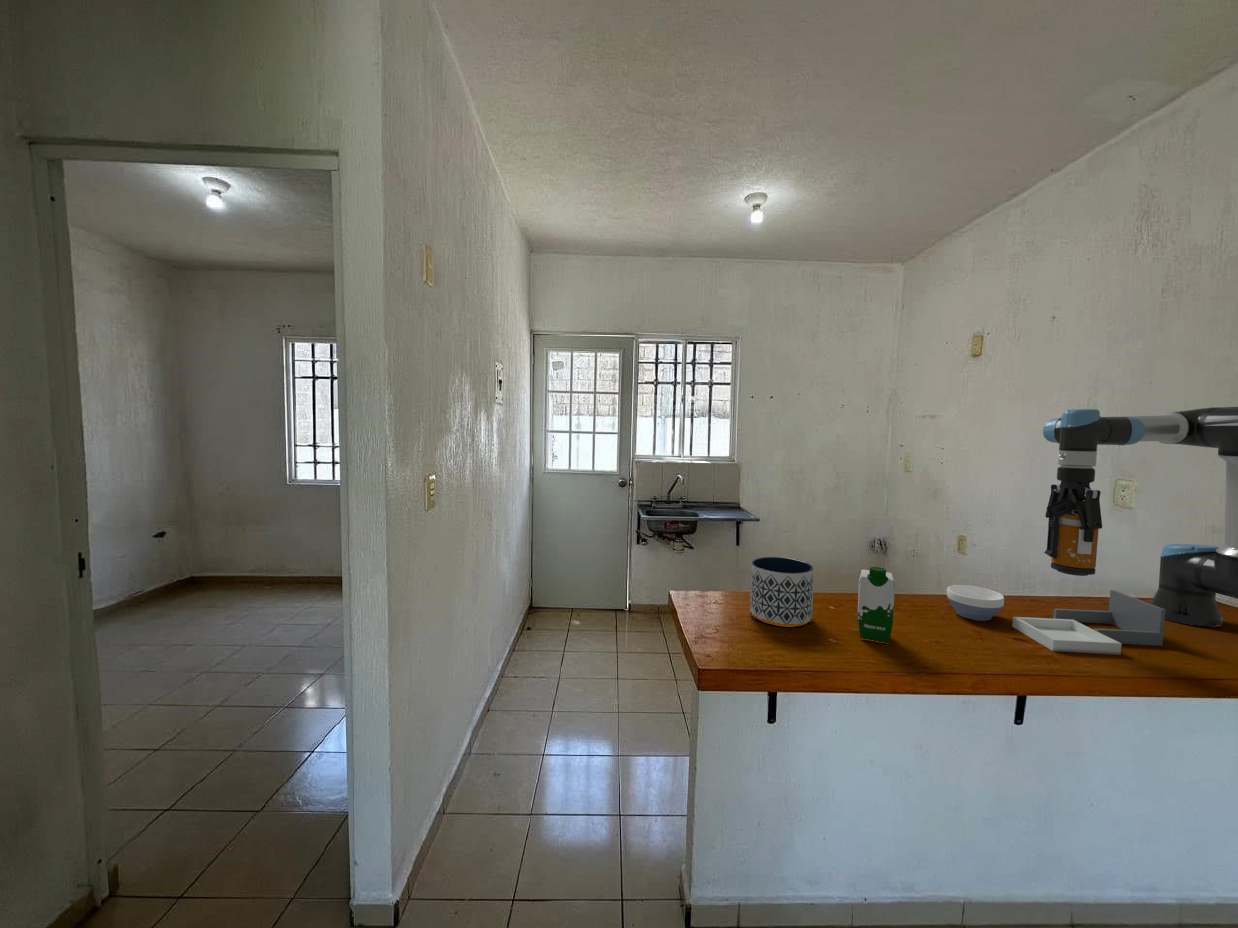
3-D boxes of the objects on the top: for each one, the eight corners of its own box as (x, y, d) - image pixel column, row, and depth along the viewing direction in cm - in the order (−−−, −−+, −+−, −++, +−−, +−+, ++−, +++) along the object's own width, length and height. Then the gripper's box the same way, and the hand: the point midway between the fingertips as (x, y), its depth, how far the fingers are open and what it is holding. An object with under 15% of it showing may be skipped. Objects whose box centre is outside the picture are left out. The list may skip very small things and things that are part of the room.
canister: (1103, 578, 130) (1109, 502, 129) (1055, 575, 132) (1060, 501, 131) (1079, 568, 139) (1085, 498, 138) (1034, 566, 141) (1039, 496, 140)
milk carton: (856, 640, 136) (859, 569, 134) (856, 628, 144) (859, 561, 142) (893, 646, 132) (896, 573, 130) (890, 634, 140) (894, 564, 139)
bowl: (951, 620, 150) (953, 596, 150) (941, 605, 164) (942, 582, 163) (1010, 628, 145) (1012, 603, 144) (994, 611, 158) (995, 588, 158)
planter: (769, 602, 165) (770, 553, 164) (822, 617, 152) (824, 565, 151) (738, 616, 153) (739, 563, 152) (793, 634, 140) (795, 577, 139)
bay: (1111, 622, 149) (1114, 590, 149) (1162, 645, 134) (1165, 609, 133) (1053, 619, 151) (1055, 587, 151) (1096, 642, 136) (1099, 606, 135)
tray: (1072, 629, 144) (1073, 619, 144) (1120, 654, 128) (1121, 643, 128) (1012, 626, 146) (1012, 616, 146) (1052, 650, 130) (1053, 639, 130)
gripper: (1032, 463, 145) (1027, 539, 146) (1093, 470, 123) (1086, 559, 125) (1061, 464, 144) (1055, 540, 145) (1127, 470, 122) (1120, 560, 124)
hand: (1069, 549), depth 135 cm, fingers closed on canister, 9 cm apart
